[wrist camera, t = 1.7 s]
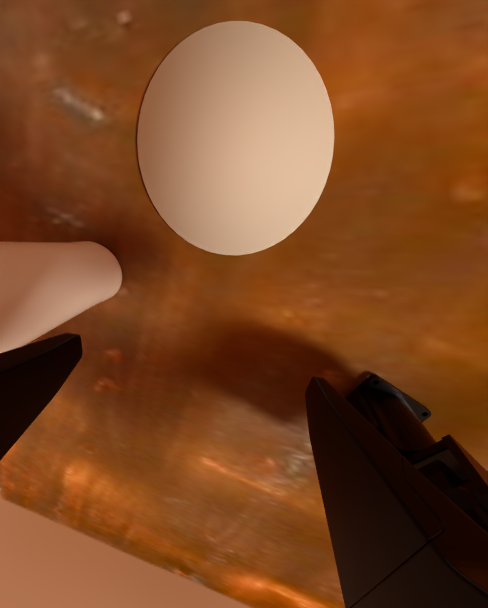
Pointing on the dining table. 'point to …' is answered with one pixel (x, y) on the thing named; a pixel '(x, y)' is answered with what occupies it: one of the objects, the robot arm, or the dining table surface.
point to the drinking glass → (51, 286)
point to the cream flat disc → (235, 138)
